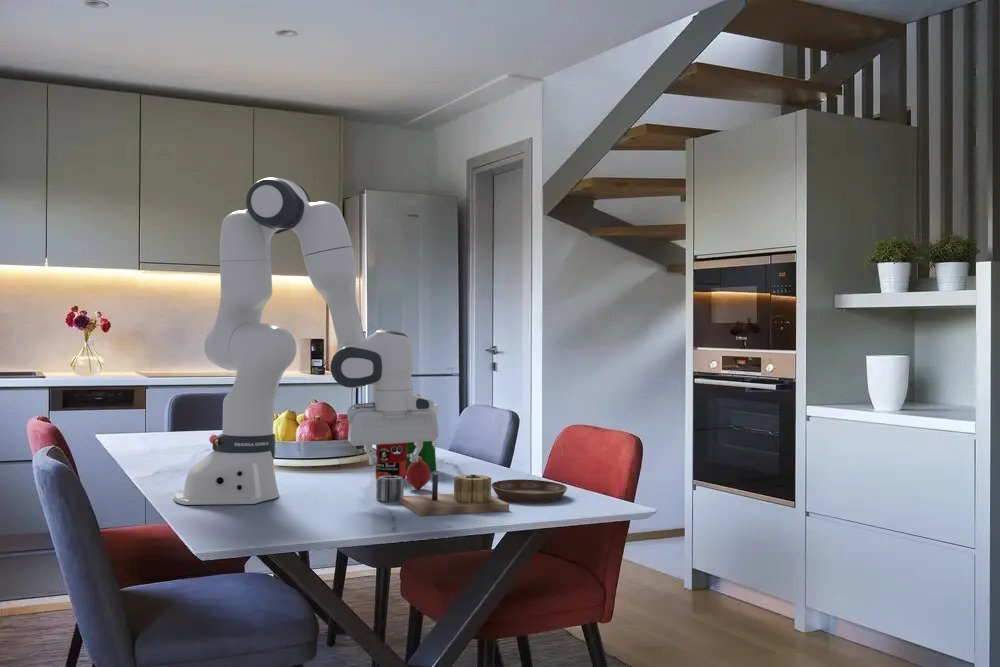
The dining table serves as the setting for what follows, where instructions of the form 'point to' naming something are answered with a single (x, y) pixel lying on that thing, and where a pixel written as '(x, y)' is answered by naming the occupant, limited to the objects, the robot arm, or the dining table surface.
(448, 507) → the gear board
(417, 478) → the onion
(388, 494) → the steel gear
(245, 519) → the dining table surface
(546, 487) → the plant saucer
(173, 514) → the dining table surface
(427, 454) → the milk carton
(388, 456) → the canned food
